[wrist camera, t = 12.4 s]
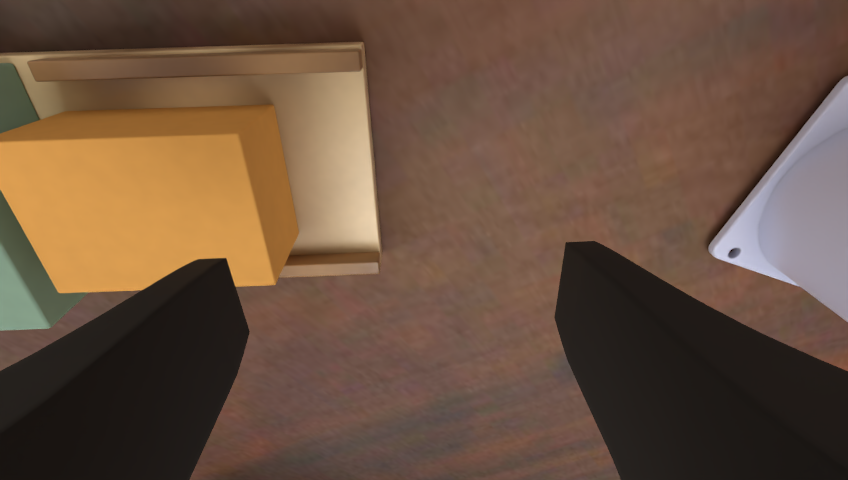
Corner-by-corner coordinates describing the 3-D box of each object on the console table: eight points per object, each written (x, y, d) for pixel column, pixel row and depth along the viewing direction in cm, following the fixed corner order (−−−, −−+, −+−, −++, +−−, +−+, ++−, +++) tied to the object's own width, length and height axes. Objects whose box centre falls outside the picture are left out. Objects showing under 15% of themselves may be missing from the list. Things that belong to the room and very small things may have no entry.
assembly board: (364, 41, 14) (358, 47, 13) (382, 253, 19) (380, 276, 17) (-148, 57, 14) (-215, 65, 13) (-13, 267, 18) (-51, 292, 17)
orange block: (274, 103, 14) (238, 133, 11) (299, 233, 17) (275, 285, 14) (64, 110, 14) (-27, 142, 11) (121, 240, 17) (57, 294, 14)
